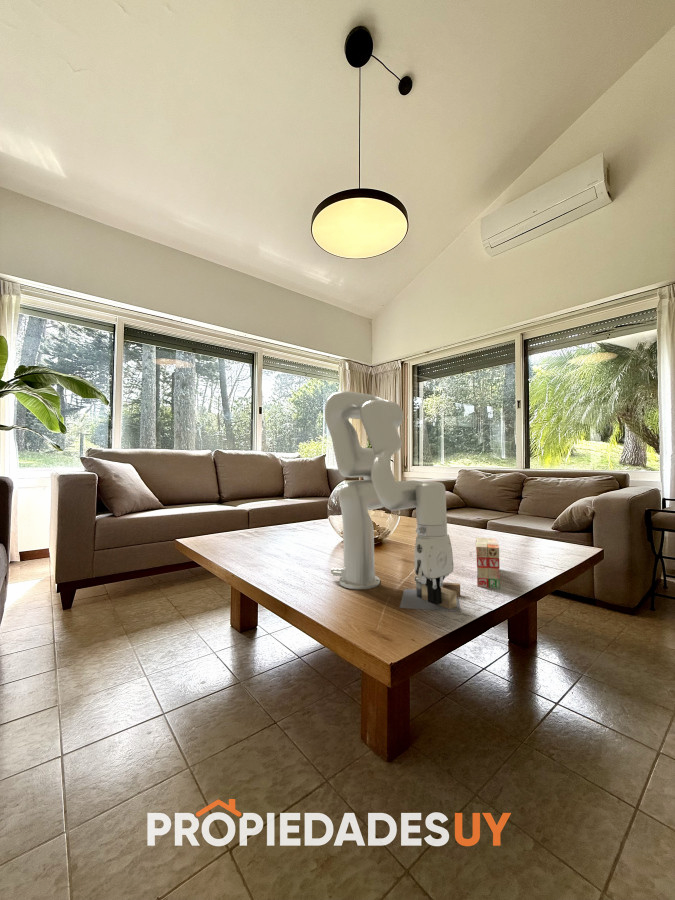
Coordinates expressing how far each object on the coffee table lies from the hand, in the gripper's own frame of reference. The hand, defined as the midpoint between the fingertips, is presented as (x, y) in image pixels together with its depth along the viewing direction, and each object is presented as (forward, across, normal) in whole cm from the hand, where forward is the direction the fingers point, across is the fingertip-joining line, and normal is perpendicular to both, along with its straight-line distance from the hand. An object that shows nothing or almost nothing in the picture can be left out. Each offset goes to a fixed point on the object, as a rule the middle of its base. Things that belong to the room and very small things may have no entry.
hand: (434, 602), depth 96 cm
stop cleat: (+1, +10, +4) cm, 11 cm away
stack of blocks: (+2, +32, +6) cm, 33 cm away
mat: (+2, +3, +4) cm, 6 cm away
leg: (+1, +3, +2) cm, 4 cm away
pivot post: (+1, +3, +8) cm, 8 cm away
